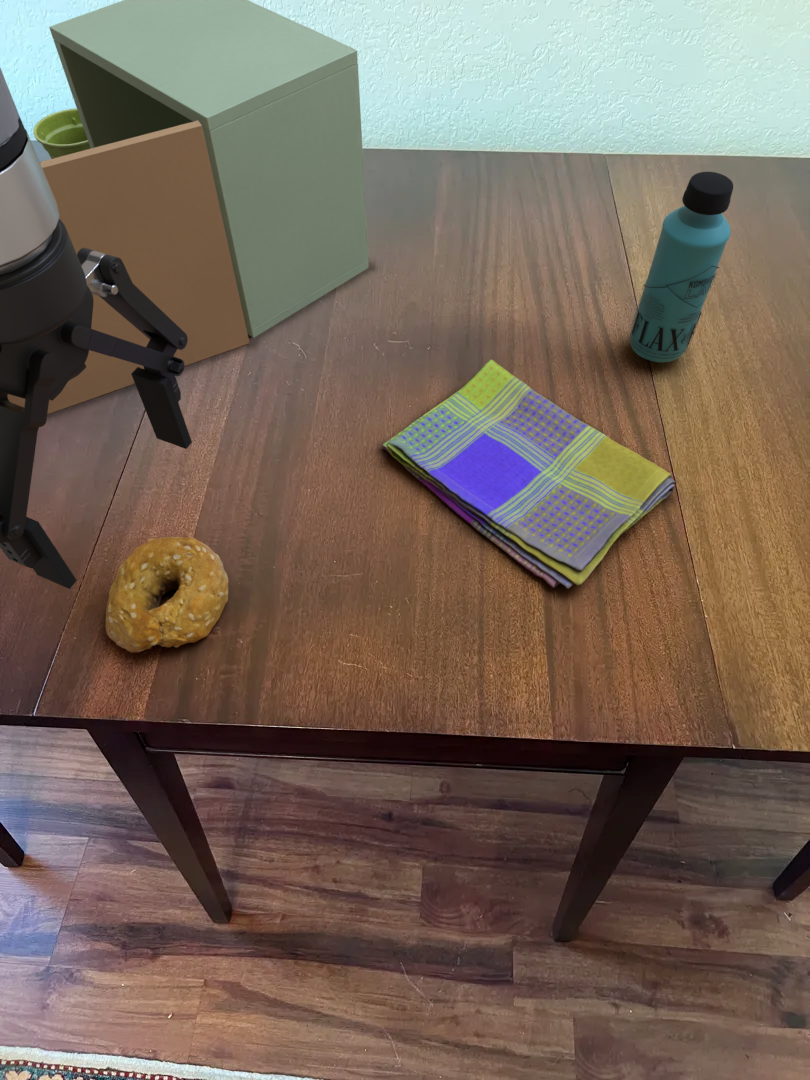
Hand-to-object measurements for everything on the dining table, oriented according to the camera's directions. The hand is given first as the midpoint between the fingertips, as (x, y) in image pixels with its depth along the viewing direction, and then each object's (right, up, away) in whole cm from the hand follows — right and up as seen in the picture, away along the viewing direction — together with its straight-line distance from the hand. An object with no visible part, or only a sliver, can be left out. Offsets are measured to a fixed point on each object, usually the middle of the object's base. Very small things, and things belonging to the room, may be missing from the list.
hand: (119, 505), depth 56 cm
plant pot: (-22, +45, +50) cm, 70 cm away
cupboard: (0, +33, +41) cm, 53 cm away
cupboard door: (-7, +12, +26) cm, 30 cm away
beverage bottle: (+48, +18, +30) cm, 59 cm away
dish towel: (+32, +4, +21) cm, 38 cm away
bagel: (0, -8, +12) cm, 15 cm away
